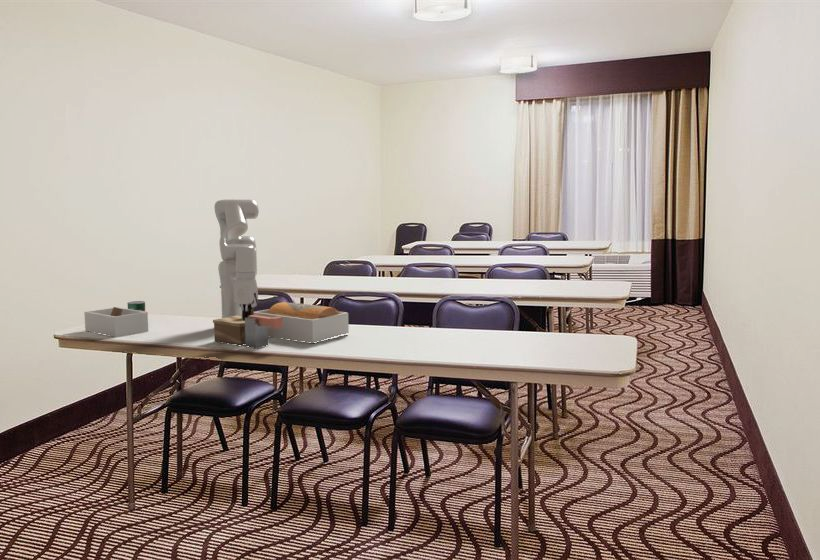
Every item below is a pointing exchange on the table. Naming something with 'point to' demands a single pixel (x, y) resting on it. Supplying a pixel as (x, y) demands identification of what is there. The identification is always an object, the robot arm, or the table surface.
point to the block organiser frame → (116, 322)
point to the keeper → (255, 333)
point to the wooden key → (268, 321)
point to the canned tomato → (136, 305)
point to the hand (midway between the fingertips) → (247, 320)
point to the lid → (233, 320)
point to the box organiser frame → (308, 327)
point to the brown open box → (229, 334)
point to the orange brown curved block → (302, 310)
